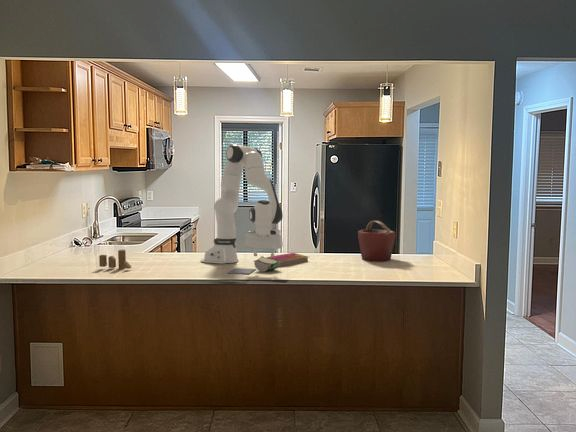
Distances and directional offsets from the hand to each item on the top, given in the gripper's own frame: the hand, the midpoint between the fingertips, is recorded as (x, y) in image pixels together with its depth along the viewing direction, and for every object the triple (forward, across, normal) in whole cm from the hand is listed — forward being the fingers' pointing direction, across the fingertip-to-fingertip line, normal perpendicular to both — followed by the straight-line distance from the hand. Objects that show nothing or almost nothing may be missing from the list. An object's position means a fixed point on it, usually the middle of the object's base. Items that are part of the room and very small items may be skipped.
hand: (263, 256), depth 296 cm
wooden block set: (+8, -82, -9) cm, 83 cm away
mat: (+9, -13, 0) cm, 15 cm away
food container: (+7, -2, +2) cm, 8 cm away
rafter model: (+10, +3, +31) cm, 33 cm away
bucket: (+10, +57, +56) cm, 80 cm away
